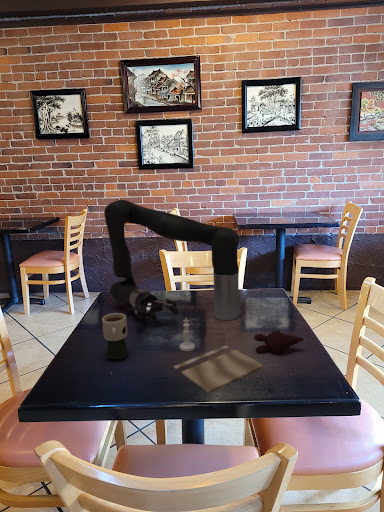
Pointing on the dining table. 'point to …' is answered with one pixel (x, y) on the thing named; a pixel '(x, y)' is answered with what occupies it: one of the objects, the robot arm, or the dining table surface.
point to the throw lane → (219, 369)
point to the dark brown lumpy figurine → (276, 341)
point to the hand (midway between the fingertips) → (166, 314)
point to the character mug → (115, 335)
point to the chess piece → (186, 338)
